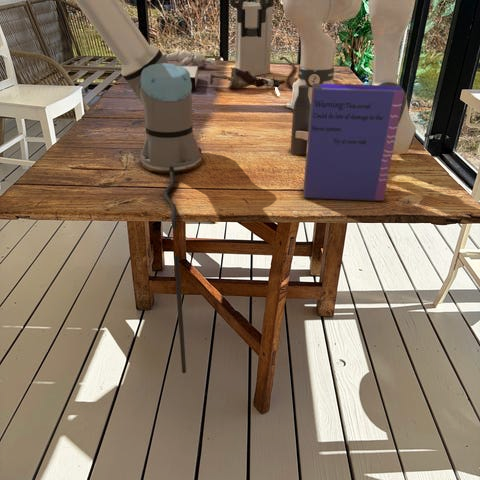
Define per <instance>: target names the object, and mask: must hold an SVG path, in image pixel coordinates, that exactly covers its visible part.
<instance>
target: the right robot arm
mask: <svg viewBox="0 0 480 480" xmlns="http://www.w3.org/2000/svg"><path fill="white" fill-rule="evenodd" d="M362 2H363V0H282V9H283V12H284V15H285V17H286V18H287V20H288V21H290V22H291V23H292V24H293V25H294V27H295V28H296V30H297V32H298V35H299V36H298V37H299V40H300V61H299V62H300V64H299V65H298V69H297V80H295V81H294V82H293V84H291V83H290V79H291V77H292V76H293V74H294V73H295V70H296V65H295V64H294V63H293V62H292V61H290V60H289V59H288V58H287V57H285V56H281V57H279V61H282V60H285V61H286V62H287V63H288V64H290V65H291V66H292V70H291V72H290V74H289V75H288V76H287V79H286V83H287V85H288V87H289V88H290V89H291V90H292V91H291V100H289V101H288V102H286V104H285V107H286V108H288V109H292V110H293V106H294V103H295V101H296V99H297V96H298V92H299V89H298V88H299V86H300V85H307V86H309V91H308V97H309V99H310V104H311V98H312V87H313V84H335V82H334V80H333V79H334V75H335V67H334V64H335V53H336V43H335V41H334V39H333V38H332V37H331V36H330V35H328V34H326V33H324V31H323V23H338V22H339V23H340V22H344V21H349V20H352V19H354V18H356V17H357V15H358V13H359V12H360V11H361V8H362V4H363V3H362ZM367 2H368V15H369V23H370V27H371V28H370V29H371V34H372V39H373V63H372V65H373V66H372V80H371V83H370V85H382V86H399V87H401V88H402V89H403V91H404V95H403V100H402V105H401V111H400V116H399V121H398V127H397V132H396V137H395V142H394V148H393V153H392V156H397V155H403V154H406V152H408V151H409V150H410V148H411V146H412V145H413V142H414V140H415V136H416V131H417V129H416V125H415V124H414V122H413V120H412V117H411V114H410V111H409V107H408V106H409V105H408V99H407V98H408V97H407V94H406V91H405V90H404V88H403V86H401V85H400V84H398V68H399V55H400V54H399V53H400V47H401V44H402V43H401V42H402V39H403V37H404V35H405V33H406V30H407V28H408V26H409V24H410V22H411V20H412V16H413V14H414V13H413V12H414V9H415V3H416V0H368V1H367ZM275 92H276V94H277V96H278V97H279V96H280V92H279V89H278V88H277V87H275ZM295 137H296V138H302V139H304V140H307V141H308V132H305V131H303V130H297V131H296V135H295Z"/></svg>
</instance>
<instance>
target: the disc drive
mask: <svg viewBox="0 0 480 480" xmlns="http://www.w3.org/2000/svg"><path fill="white" fill-rule="evenodd" d="M182 67H184V68H185V69H187V70H188V72H189V74H190V78H191V83H192V89H191V92H192V91H195V92H196V90H197V88H196V87H197V83H198V79H199V67H198V66H190V65H184V66H182Z"/></svg>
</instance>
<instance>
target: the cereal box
mask: <svg viewBox="0 0 480 480" xmlns="http://www.w3.org/2000/svg"><path fill="white" fill-rule="evenodd" d="M401 87H402V86H401ZM401 87H399V86H382V85H371V84H344V83H343V84H341V83H334V84H313V87H312V98H311V109H310V120H309V131H308V142H307V153H306V154H305V165H304V177H303V188H302V189H303V190H302V191H303V197H304V199H317V200H343V201H344V200H345V201H346V200H347V201H366V202H367V201H368V202H369V201H370V202H384V201H385V195H386V190H387V184H388V178H389V174H390V168H391V164H392V158H393V155H392V153H393V148H394V142H395V137H396V132H397V127H398V121H399V116H400V111H401V105H402V100H403V95H404V91H405V90H404V88H403V87H402V88H403V89H402V88H401ZM403 90H404V91H403Z"/></svg>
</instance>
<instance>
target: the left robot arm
mask: <svg viewBox="0 0 480 480" xmlns="http://www.w3.org/2000/svg"><path fill="white" fill-rule="evenodd" d="M73 1H74V2H75V3H76V5H77V6H78V8H79V9H80V10H81V12H82V14H84V16H85V17H86V18H87V20H88V21H89V23H90V24H91V25H92V27H93V28H94V30H96V32H97V33H98V35H99V36H100V37H101V39H102V41H104V43H105V44H106V46H107V47H108V48H109V50H110V51H111V52H112V54H113V55H114V56H115V58H116V60H117V61H118V62H119V63H120V65H121V71H120V75H121V76H122V77H123V78H124V80H125V81H126V83H127V84H128V86H129V87H130V88H131V90H132V91H133V92H134V94H135V95H136V96H137V98H138V99H139V100H140V102H141V104H142V106H143V115H144V125H145V126H144V127H145V138H144V142H143V146H142V150H141V154H140V162H141V166H142V168H144V169H145V170H146V171H149V172H151V173H156V174H163V175H164V174H165V175H169V179H170V183H169V185H168V186H167V187H166V188H165V189H164V191H163V198H164V200H165V202H166V203H167V204H168V206H169V208H170V213H171V227H172V228H173V229H177V228H178V221H177V209H176V206H175V203H174V202H173V200H172V199H171V197H169V193H170V191H172V190H173V188H174V186H175V183H176V182H175V181H176V180H175V174H182V173H187V172H190V171H193V170H195V169H197V168H198V167H199V166H201V163H202V149H201V148H200V147H199V146H198V143H197V141H196V137H195V135H194V130H193V129H194V126H193V101H192V100H193V99H192V98H193V97H192V91H191V89H192V83H191V78H190V74H189V72H188V70H187V69H185V68H184V67H182V66H180V65H177V64H175V63H169V61H167V60H166V59H165V57H164V56H163V54H162V53H161V52H162V51H161V50H160V48H159V47H158V46H156V45H152V44H149V42H148V41H147V39H146V38H145V36H144V35H143V34H142V32H141V31H140V29H139V28H138V26H137V25H136V23H135V22H134V20H133V18H132V17H131V15H130V14H129V13H128V11H127V10H126V9H125V7H124V5H123V4H122V3H121V1H120V0H73ZM243 2H245V0H237V1H236V0H229V5H230V6H231V7H232V8H235V9H236V8H237V22H238V23H241V36H242V37H245V9H242V8H243ZM274 2H275V0H267V1H266V0H259V3H260V7H261V9H258V13H257V27H258V37H261V28H262V23H265V21H266V9H267V8H269V7H272V6H273V7H274V5H275V3H274ZM173 259H174V274H175V275H174V276H175V288H176V290H175V291H176V304H177V318H178V329H179V330H178V333H179V345H180V362H181V373H183V374H186V373H187V363H186V349H185V348H186V347H185V333H184V332H185V331H184V317H183V316H184V315H183V314H184V313H183V302H182V301H183V299H182V298H183V297H182V285H181V268H180V256H178V255H174V256H173Z"/></svg>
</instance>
